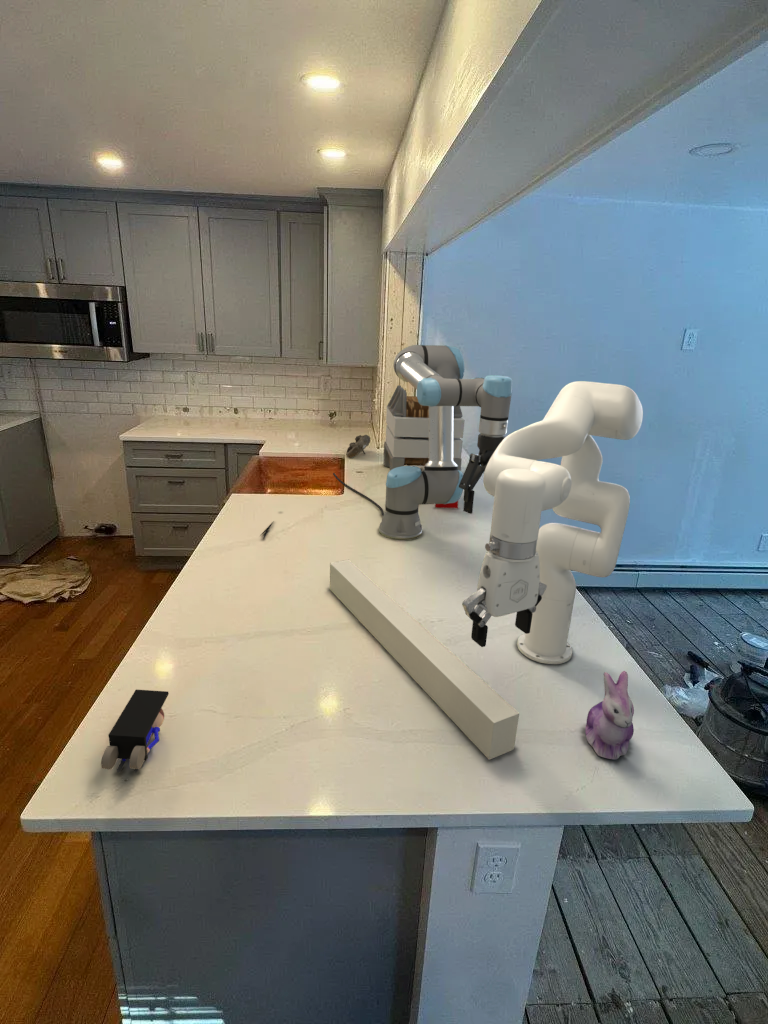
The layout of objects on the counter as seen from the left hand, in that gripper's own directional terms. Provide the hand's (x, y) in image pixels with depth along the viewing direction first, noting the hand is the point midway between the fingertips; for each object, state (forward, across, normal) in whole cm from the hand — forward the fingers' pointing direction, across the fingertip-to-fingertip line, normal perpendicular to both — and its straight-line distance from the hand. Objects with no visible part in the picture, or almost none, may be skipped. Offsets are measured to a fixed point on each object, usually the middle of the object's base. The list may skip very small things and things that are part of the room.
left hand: (484, 508), depth 161 cm
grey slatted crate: (+23, +62, +95) cm, 116 cm away
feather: (+23, -30, +71) cm, 80 cm away
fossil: (+23, +58, +140) cm, 153 cm away
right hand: (0, -48, -47) cm, 68 cm away
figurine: (+22, -31, -62) cm, 72 cm away
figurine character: (+22, -100, -13) cm, 104 cm away
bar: (+22, -43, -16) cm, 51 cm away
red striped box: (+23, +45, +61) cm, 79 cm away
